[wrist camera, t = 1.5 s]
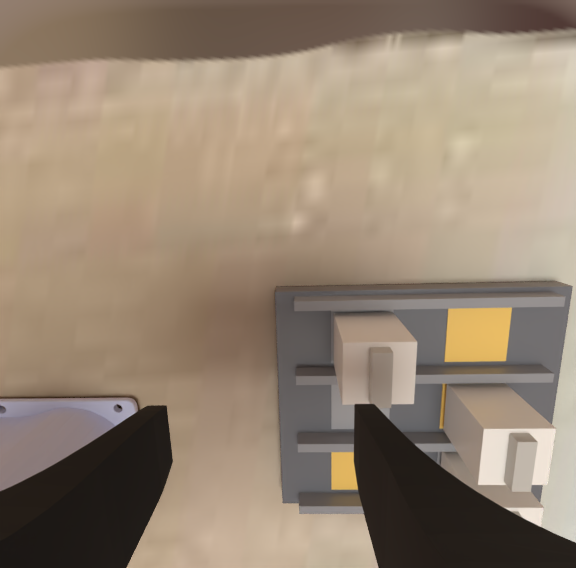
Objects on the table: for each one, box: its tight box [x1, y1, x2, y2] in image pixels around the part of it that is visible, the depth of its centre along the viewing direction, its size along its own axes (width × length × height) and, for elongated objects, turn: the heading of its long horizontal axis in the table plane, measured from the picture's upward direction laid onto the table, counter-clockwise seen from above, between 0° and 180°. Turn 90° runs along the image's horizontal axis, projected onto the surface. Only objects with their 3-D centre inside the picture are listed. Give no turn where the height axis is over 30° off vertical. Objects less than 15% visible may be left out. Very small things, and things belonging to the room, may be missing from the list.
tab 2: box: [441, 452, 544, 527], centre depth 18 cm, size 3×3×5 cm
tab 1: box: [334, 312, 417, 408], centre depth 17 cm, size 3×3×5 cm
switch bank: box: [275, 281, 573, 514], centre depth 20 cm, size 15×13×2 cm
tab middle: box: [443, 383, 556, 492], centre depth 18 cm, size 3×3×5 cm
